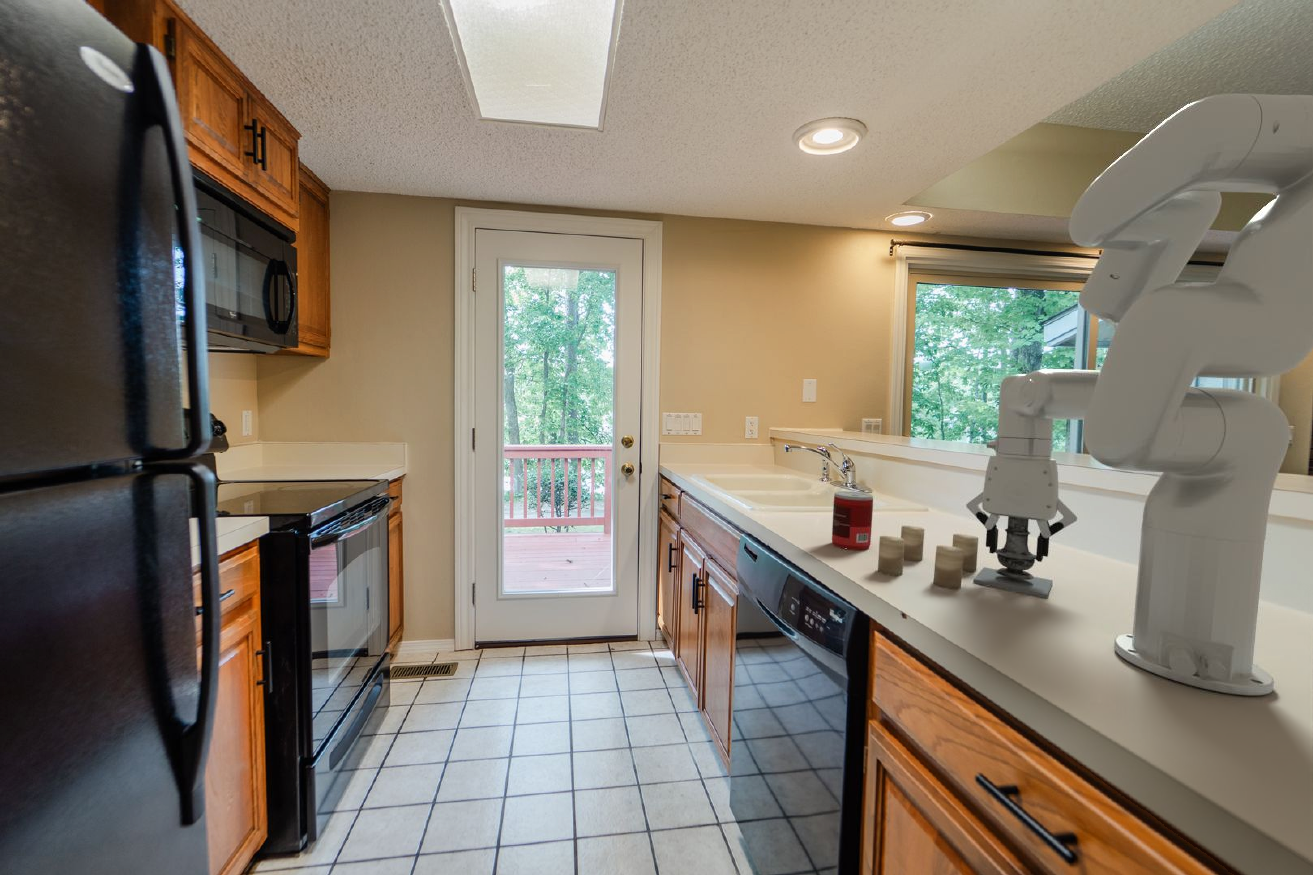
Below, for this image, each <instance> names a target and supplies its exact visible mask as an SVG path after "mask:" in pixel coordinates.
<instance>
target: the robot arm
mask: <svg viewBox="0 0 1313 875" xmlns="http://www.w3.org/2000/svg"><path fill="white" fill-rule="evenodd" d="M1221 193H1259V194H1269V195H1274V196H1275V197H1276V198H1275V199H1273V200H1272V201H1270V202H1269V203H1268V204H1267V205H1266V206H1264V207H1263V208H1262V209H1261V210H1260V211H1258V212H1257V213H1256V214H1255V215H1254V216H1253V217H1252V218H1251V219H1250V220H1249V221H1248V222H1247V223H1246V224H1245V225H1244V227H1243V228H1242V229H1241V230H1240V232H1238V234H1237V236H1236V238H1234V240H1233V242H1232V243H1231V246H1230V248H1229V251H1228V254H1227V257H1226V259H1225V262H1224V263H1223V265H1222V268H1221V270H1220V272H1219V274H1218V276H1217V277H1216V279H1215V280H1214V281H1213V282H1209V281H1208V282H1207V281H1206V282H1205V281H1203V282H1202V281H1186V282H1185V281H1182V282H1176V280H1177V279H1178V278H1179V276H1180V274H1181V273H1182V271H1183V270H1184V268H1185V267H1186V265H1187V264H1188V262H1189V261H1190V259H1191V258H1192V256H1193V255H1194V253H1195V252H1196V251H1197V248H1198V247H1199V246H1200V244H1201V242H1202V241H1203V239H1204V237H1205V235H1206V234H1207V233H1208V231H1209V230H1210V228H1211V226H1212V225H1213V223H1214V222H1215V220H1216V218H1217V217H1218V215H1219V212H1220V210H1221V206H1222V203H1223V202H1222V199H1223V198H1222V194H1221ZM1068 234H1069V235H1070V239H1071V241H1073V243H1074V244H1076V245H1078V246H1079V247H1082V248H1086V249H1103V250H1102V252H1101V255H1100V256H1099V258H1098V260H1097V262H1096V263H1095V266H1094V267H1093V269H1092V271H1091V273H1090V274H1089V276H1088V278H1087V280H1086V282H1085V284H1084V285H1083V287H1082V289H1081V290H1080V292H1079V295H1078V303H1079V306H1080V307H1081V308H1082V309H1083V310H1084V311H1085V312H1087V313H1088V314H1089V315H1092V316H1093V317H1095V318H1098V319H1100V320H1102V321H1103V322H1106V323H1108V324H1111V325H1112V326H1113V328H1114V332H1113V335H1112V338H1111V341H1110V343H1109V345H1108V349H1107V351H1106V355H1105V356H1104V361H1103V363H1102V366H1101V369H1100V370H1093V369H1070V368H1069V369H1057V368H1056V369H1054V368H1049V369H1048V368H1047V369H1038V370H1034V371H1030V372H1029V373H1024V374H1023V373H1022V374H1019V373H1018V374H1011V375H1008V376H1006V377H1004V378H1003V379H1002V380H1001V382H1000V387H999V403H998V404H999V405H998V419H997V434H996V437H995V439H991V440H987V441H986V449H992V450H993V451H994V452H995V455H993V454H992V455H990V456H989V458H988V463H987V466H986V470H985V477H984V483H983V489H982V492H980V493H979V494H978V495H976V497H974V498H973V499H971V500H970V501H968V502H967V503H966V505H965V507H966V508H967V510H969V511H970V512H971V513H972V514H973V515H974V516H975V517H976V519H977V520H978V521H979V522H980V523H981V524H982V525H983V527H984V528H985V530H986V538H985V547H987V548H989V550H988V551H989V554H992V555H993V554H995V553H996V552H995V551H996V550H998V541H999V529H998V528H997V526H998V525H997V523H998V521H999V519H1000V518H1001V517H1002V516H1003V517H1007V518H1008V517H1016V518H1023V519H1029V520H1031V521H1032V520H1033V521H1036V523H1037V526H1038V529H1039V531H1040V532H1039V535H1038V536H1037V541H1036V552H1035V554H1036V559H1035V561H1037V562H1040V563H1042V562H1043V559H1044V557H1048V556H1049V548H1050V537H1052V536H1053V535H1054V536H1055V534H1057V533H1058V532H1060V531H1061V530H1063V529H1065V528H1067V527H1068V526H1070V525H1072V524H1074V523H1075V522H1077V520H1078V517H1077V515H1076V514H1075V513H1074V512H1073V511H1072V510H1071V508H1069V507H1068V506H1067V505H1066V504H1065V503H1064V502H1063V501H1062V500H1061V499H1060V498H1059V472H1058V464H1057V460H1056V459H1054V458H1052V445H1053V431H1054V420H1063V421H1065V420H1079V421H1081V420H1083V426H1082V435H1083V437H1082V438H1083V441H1084V446H1085V448H1086V450H1087V451H1088V453H1089V455H1090V456H1091V457H1092V458H1093V459H1094V460H1095V461H1097V462H1098V463H1100V464H1101V465H1104V466H1106V467H1109V468H1112V469H1115V470H1120V471H1131V472H1148V473H1149V472H1151V473H1152V472H1153V473H1161V475H1160V476H1159V479H1157V481H1156V482H1155V483H1154V485H1153V487H1152V488H1151V490H1150V492H1149V494H1147V497H1146V500H1145V503H1144V507H1143V514H1142V522H1141V529H1140V543H1139V552H1138V553H1139V554H1138V556H1139V557H1138V568H1137V578H1136V588H1135V590H1136V591H1135V600H1134V601H1135V602H1134V614H1133V615H1134V616H1133V625H1132V626H1133V627H1132V633H1127V634H1125V633H1124V634H1121V635H1118V636H1117V637H1115V639H1114V642H1113V643H1114V644H1113V645H1114V646H1113V648H1114V650H1115V652H1116V653H1117V654H1118V655H1119V657H1122V658H1123V659H1125V660H1126V661H1128V662H1130V663H1131V664H1133V665H1134V666H1137V667H1138V668H1141V669H1143V670H1145V671H1148V672H1149V673H1152V674H1155V675H1158V676H1160V677H1163V678H1166V679H1169V680H1172V681H1175V682H1178V683H1181V684H1184V685H1189V686H1192V687H1196V688H1200V689H1205V690H1209V691H1214V692H1218V693H1225V694H1229V695H1230V694H1231V695H1239V696H1249V697H1250V696H1251V697H1252V696H1263V695H1264V696H1265V695H1269V694H1271V693H1272V692H1274V691H1273V690H1274V684H1275V680H1274V678H1273V677H1272V675H1271V674H1270V673H1268V672H1267V671H1266V670H1265V669H1263V668H1262V667H1260V666H1257V665H1256V664H1254V663H1253V662H1254V652H1255V642H1256V635H1257V634H1256V632H1257V622H1258V614H1259V612H1258V611H1259V610H1258V609H1259V603H1260V602H1259V600H1260V592H1261V582H1262V581H1261V580H1262V573H1263V571H1262V570H1263V569H1262V568H1263V561H1264V550H1265V540H1266V534H1267V526H1268V525H1267V524H1268V518H1269V517H1268V516H1269V509H1270V504H1271V498H1272V493H1273V490H1274V486H1275V482H1276V480H1277V477H1278V475H1279V471H1280V470H1281V467H1282V464H1283V462H1284V460H1285V457H1286V456H1287V451H1288V449H1289V446H1290V440H1291V427H1290V424H1289V420H1288V418H1287V416H1286V414H1285V413H1284V412H1283V410H1282V409H1281V408H1280V407H1279V405H1277V404H1276V403H1274V402H1273V401H1272V400H1270V399H1268V398H1267V397H1264V396H1263V395H1260V394H1258V393H1255V392H1250V391H1246V390H1242V389H1237V388H1227V387H1211V386H1210V387H1206V386H1192V384H1193V382H1194V380H1195V378H1213V379H1216V378H1217V379H1262V378H1270V377H1271V378H1272V377H1277V376H1281V375H1283V374H1286V373H1288V372H1290V371H1292V370H1294V369H1295V368H1297V367H1298V366H1300V365H1301V364H1302V363H1303V362H1304V361H1305V360H1306V358H1308V356H1309V354H1311V352H1312V351H1313V94H1311V95H1310V94H1263V93H1221V94H1216V95H1215V94H1214V95H1211V96H1207V97H1203V98H1201V99H1198V100H1195V101H1194V102H1192V103H1190V104H1189V103H1188V104H1187V105H1185V106H1184V107H1182V108H1181V109H1179V110H1177V111H1176V112H1175V113H1174V114H1172V115H1171V116H1169V117H1168V118H1167V119H1165V120H1164V121H1162V123H1160V124H1159V125H1158V126H1157V127H1156V128H1155V129H1153V130H1151V131H1150V132H1149V134H1147V135H1146V136H1145V137H1144V138H1142V139H1141V140H1140V141H1139V142H1137V144H1135V145H1134V146H1132V148H1130V149H1129V150H1128V151H1126V152H1125V153H1123V155H1122V156H1120V157H1119V158H1118V159H1116V160H1115V161H1114V162H1113V163H1112V164H1111V165H1110V166H1109V167H1107V168H1106V169H1105V170H1104V171H1103V172H1102V173H1101V174H1099V176H1098V177H1097V178H1096V179H1094V180H1093V182H1092V183H1091V184H1089V185H1088V188H1086V190H1085V191H1084V192H1083V194H1082V195H1081V196H1080V198H1079V199H1078V201H1077V202H1076V203H1075V206H1074V208H1073V210H1072V212H1071V215H1070V217H1069V222H1068ZM980 504H982V505H981V506H982V509H981V508H980V507H979V506H980ZM982 510H983V511H982ZM1057 512H1059V513H1060V514H1061V515H1062V518H1061V519H1059V520H1057V521H1056V522H1054V523H1052V524H1051V525H1050V523H1049V521H1051V520H1053V519H1054V518H1055V517H1056V515H1057ZM986 513H987V514H986ZM988 514H989V515H988Z"/></svg>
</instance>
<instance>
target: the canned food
mask: <svg viewBox="0 0 1313 875" xmlns="http://www.w3.org/2000/svg"><path fill="white" fill-rule="evenodd" d="M832 508H833V509H832V510H833V513H832V528H831V531H832V532H831V542H832V545H833V544H834V546H835V547H836V546H837V548H839V547H840V549H843V548H847V549H846V550H849V549H853V550H852V551H865V549H866V550H868V549H869V548H870V546H871V543H872V542H871V541H872V526H873V510H874V509H873V508H874V495H873V494H870V493H865V492H859V491H848V490H847V491H845V490H844V491H841V490H840V491H835V492H834V496H833V507H832ZM854 549H855V550H854Z"/></svg>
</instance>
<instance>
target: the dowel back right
mask: <svg viewBox="0 0 1313 875" xmlns="http://www.w3.org/2000/svg"><path fill="white" fill-rule="evenodd" d="M951 545H952V547H957V548H960V549H963V550H964V559H963V571H962V572H966V573H974V572H977V567H978V566H977V564H978V550H979V548H978V547H979V537H978V536H975V535H972V534H965V533H954V534H952V544H951Z"/></svg>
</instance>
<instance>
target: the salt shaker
mask: <svg viewBox="0 0 1313 875" xmlns="http://www.w3.org/2000/svg"><path fill="white" fill-rule="evenodd" d="M1029 520H1030V519H1023V518H1016V517H1008V516H1007V528H1005V529H1004V531H1005V532H1006V538H1005V544H1004V545H1003V547H1002V548H999V549H998V548H997V550H996V551H995V553H996V554H997V555H996V557H997V561H998V562H999V563H1000V564H1001V565H1002V567H1001V568H999V569H996V573H998V574H1000V575H1002V576H1006V577H1010V578H1015V579H1023V580H1031V579H1034V577H1035V576H1034V575H1032V574H1031V573H1030V572H1028V571H1027V570H1030V569H1032V568H1033V566H1035V565H1034V564H1035V562H1036V555H1035V554H1034V553H1032V552H1030V549H1029V545H1028V542H1029V535H1030V534H1031V532H1030V531H1029Z"/></svg>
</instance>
